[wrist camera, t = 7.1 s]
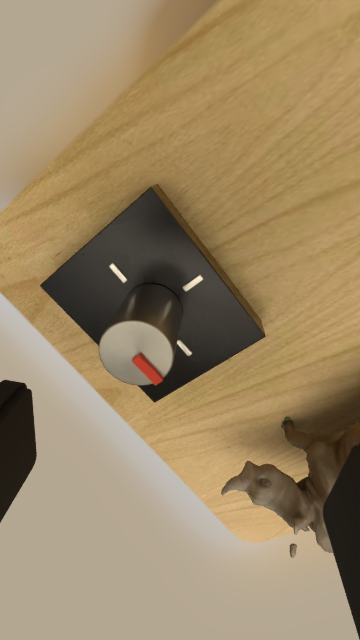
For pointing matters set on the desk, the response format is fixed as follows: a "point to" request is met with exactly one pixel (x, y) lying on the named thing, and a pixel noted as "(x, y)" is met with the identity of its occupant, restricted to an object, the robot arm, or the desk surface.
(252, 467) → the rhinoceros figurine
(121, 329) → the dial
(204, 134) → the desk surface
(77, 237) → the desk surface
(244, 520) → the desk surface
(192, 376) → the dial panel
